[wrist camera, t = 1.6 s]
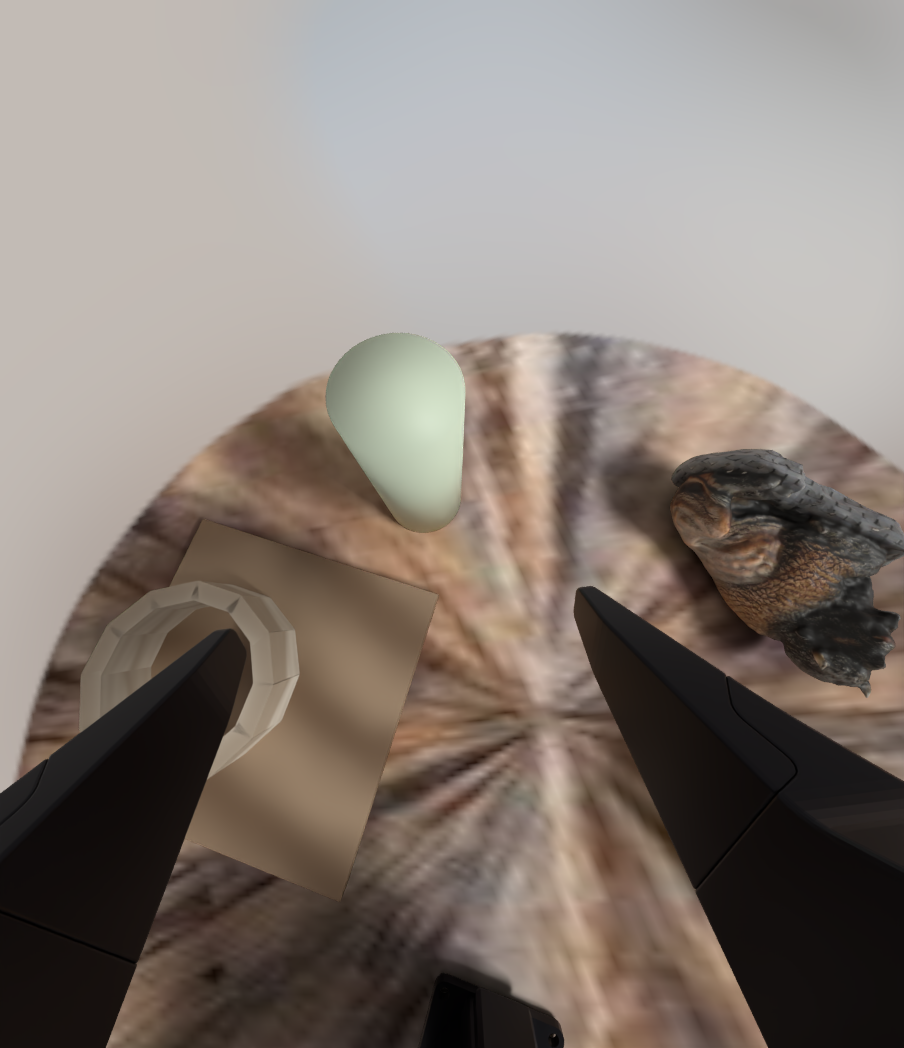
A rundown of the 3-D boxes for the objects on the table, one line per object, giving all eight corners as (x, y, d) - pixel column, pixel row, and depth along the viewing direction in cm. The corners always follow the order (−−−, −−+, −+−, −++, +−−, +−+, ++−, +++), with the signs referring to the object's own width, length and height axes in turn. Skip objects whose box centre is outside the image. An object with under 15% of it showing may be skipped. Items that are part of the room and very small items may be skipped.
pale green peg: (448, 542, 23) (440, 473, 12) (378, 520, 24) (303, 433, 12) (469, 475, 25) (482, 351, 13) (402, 455, 25) (355, 319, 13)
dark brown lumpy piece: (660, 464, 25) (610, 591, 22) (742, 404, 18) (683, 576, 16) (830, 543, 24) (798, 687, 21) (985, 509, 17) (966, 716, 14)
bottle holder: (347, 884, 19) (317, 958, 15) (89, 780, 20) (-4, 822, 16) (439, 595, 23) (435, 591, 19) (215, 523, 24) (166, 505, 20)
